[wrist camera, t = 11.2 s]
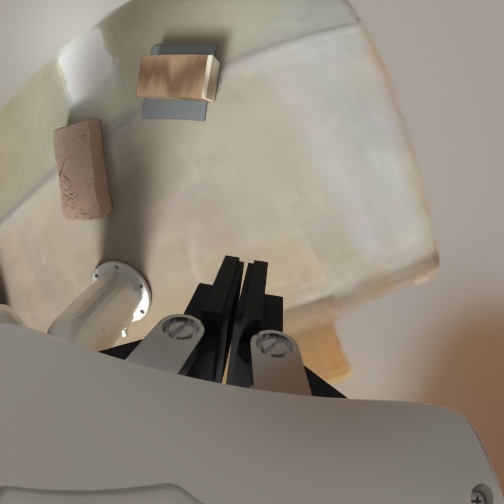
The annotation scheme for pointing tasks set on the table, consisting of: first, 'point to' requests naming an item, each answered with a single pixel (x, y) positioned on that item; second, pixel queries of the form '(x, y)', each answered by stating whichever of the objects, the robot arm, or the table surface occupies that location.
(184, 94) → the block
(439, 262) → the table surface
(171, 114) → the mat
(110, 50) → the table surface
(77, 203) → the brick
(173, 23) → the table surface
